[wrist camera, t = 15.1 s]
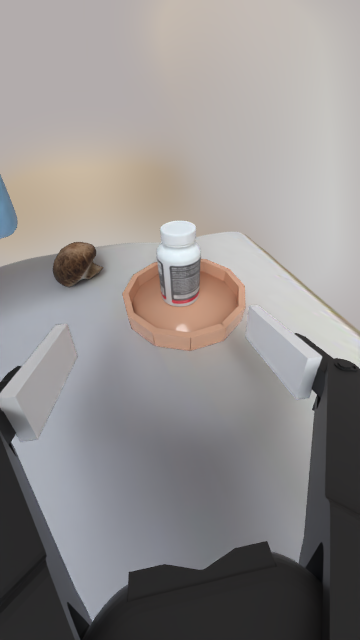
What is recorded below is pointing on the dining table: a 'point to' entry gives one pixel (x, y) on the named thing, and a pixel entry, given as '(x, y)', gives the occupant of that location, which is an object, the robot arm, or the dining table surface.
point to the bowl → (185, 308)
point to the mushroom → (75, 263)
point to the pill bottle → (179, 263)
